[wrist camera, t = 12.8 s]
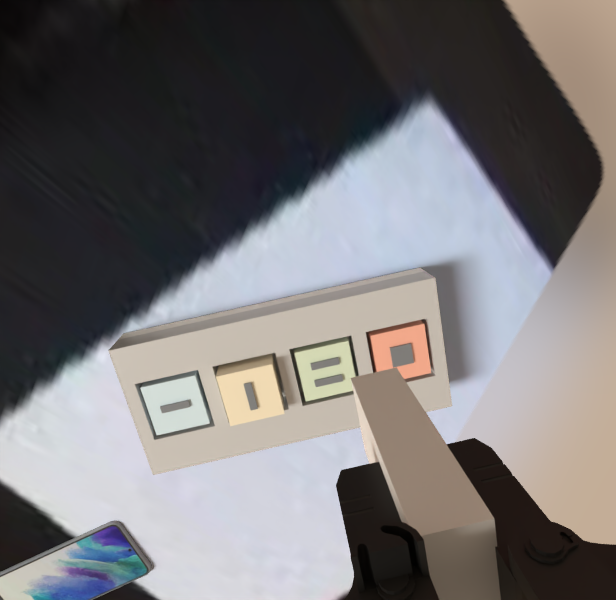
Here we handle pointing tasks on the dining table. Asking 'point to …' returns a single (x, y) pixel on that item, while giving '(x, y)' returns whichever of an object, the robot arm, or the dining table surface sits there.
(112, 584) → the smartphone
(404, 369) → the key coral
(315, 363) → the key sage
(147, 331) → the keypad
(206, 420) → the key blue
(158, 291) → the dining table surface
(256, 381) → the key sand
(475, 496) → the robot arm
